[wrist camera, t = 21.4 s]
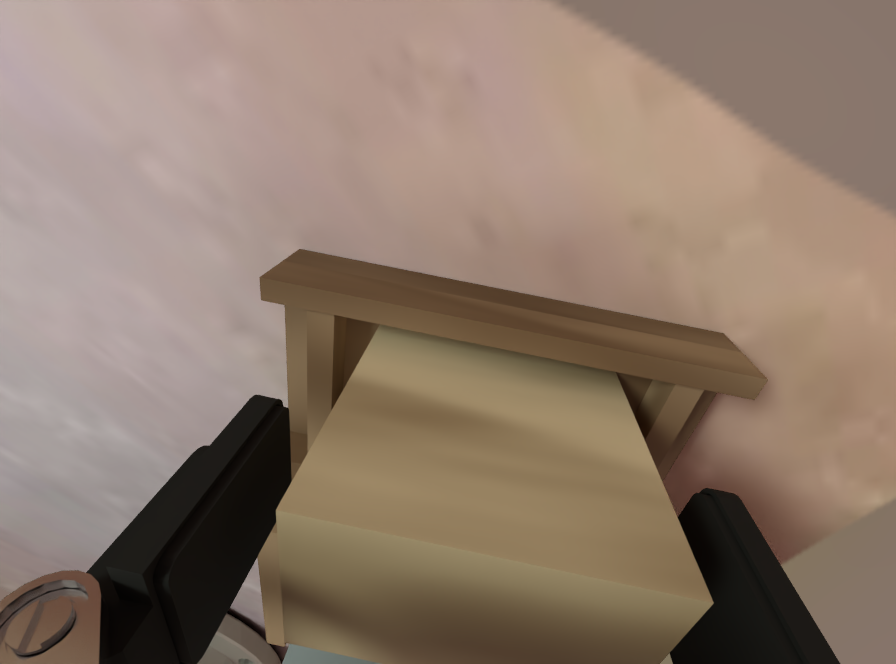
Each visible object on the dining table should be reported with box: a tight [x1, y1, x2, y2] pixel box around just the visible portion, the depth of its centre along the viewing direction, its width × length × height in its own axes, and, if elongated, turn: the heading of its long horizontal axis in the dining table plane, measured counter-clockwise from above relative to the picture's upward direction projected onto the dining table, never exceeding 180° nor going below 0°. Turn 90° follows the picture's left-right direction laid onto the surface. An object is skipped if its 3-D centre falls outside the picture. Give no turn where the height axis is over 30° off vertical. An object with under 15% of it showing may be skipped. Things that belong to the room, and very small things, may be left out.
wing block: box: [276, 324, 714, 664], centre depth 10 cm, size 4×6×6 cm, turn 81°
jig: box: [258, 249, 768, 647], centre depth 14 cm, size 15×12×4 cm
